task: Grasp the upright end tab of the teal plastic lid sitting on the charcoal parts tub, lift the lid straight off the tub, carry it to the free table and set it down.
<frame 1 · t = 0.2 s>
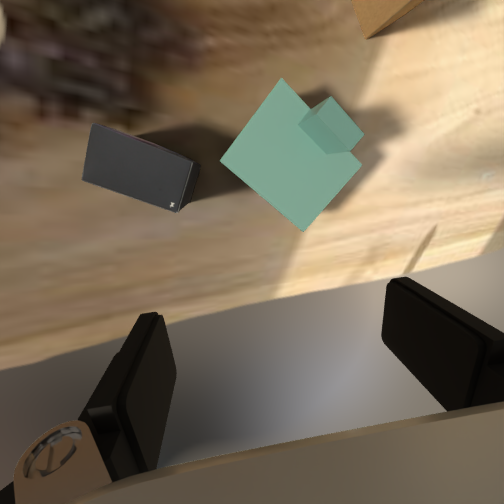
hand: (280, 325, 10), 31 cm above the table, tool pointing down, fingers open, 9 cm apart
small box: (161, 170, 36), on the table
lid: (291, 163, 31), point 7 cm above the table, touching tub
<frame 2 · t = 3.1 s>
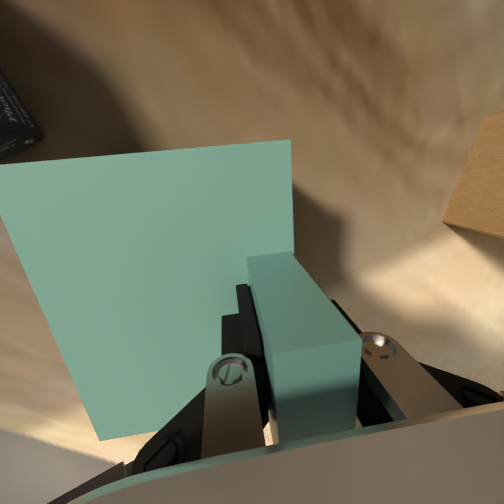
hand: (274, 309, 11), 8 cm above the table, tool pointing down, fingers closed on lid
lid: (181, 306, 12), point 7 cm above the table, touching gripper, tub
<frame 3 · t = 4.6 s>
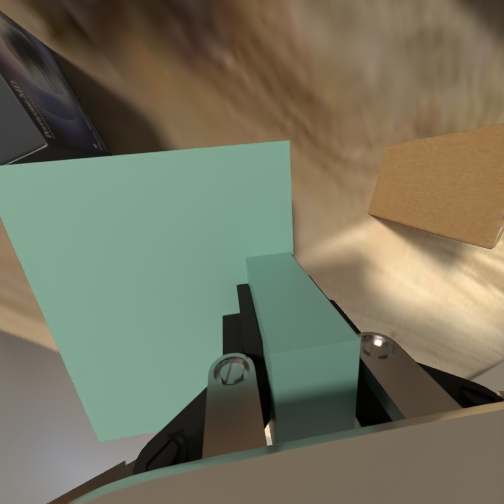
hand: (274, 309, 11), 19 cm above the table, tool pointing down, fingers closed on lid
small box: (57, 118, 24), on the table
lid: (181, 307, 12), point 17 cm above the table, touching gripper
sandwich container: (428, 190, 31), on the table
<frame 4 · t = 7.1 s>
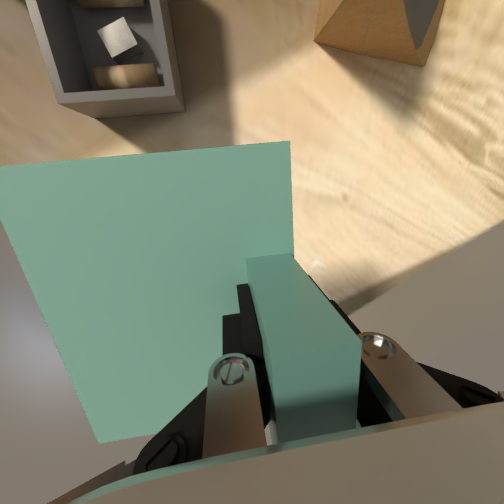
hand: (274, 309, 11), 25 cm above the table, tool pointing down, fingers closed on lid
lid: (181, 308, 12), point 23 cm above the table, touching gripper
dowel a: (115, 6, 25), point 1 cm above the table, tilted 40°, touching tub
tub: (126, 46, 27), on the table
sandwich container: (379, 16, 29), on the table
dowel b: (132, 81, 28), point 1 cm above the table, tilted 5°, touching tub
metal block: (125, 46, 26), point 1 cm above the table, touching tub
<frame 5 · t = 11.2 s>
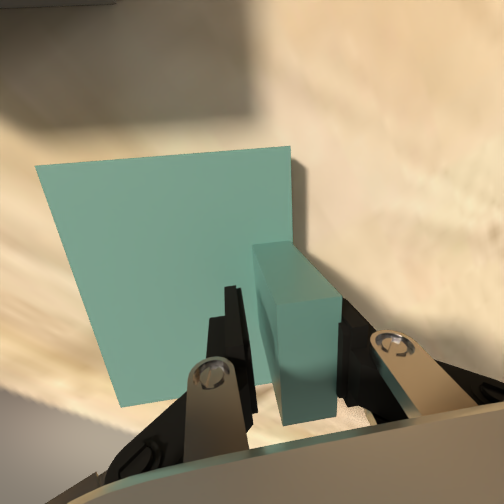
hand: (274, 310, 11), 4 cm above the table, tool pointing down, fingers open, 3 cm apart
lid: (195, 288, 14), point 1 cm above the table, touching gripper
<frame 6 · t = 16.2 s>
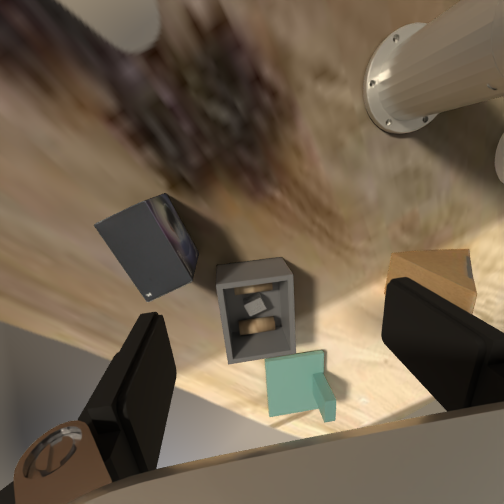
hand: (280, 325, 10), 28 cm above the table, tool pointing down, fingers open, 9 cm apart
small box: (166, 232, 37), on the table
lid: (294, 383, 48), point 1 cm above the table
dowel a: (252, 283, 40), point 1 cm above the table, tilted 14°, touching tub
tub: (253, 297, 42), on the table
sandwich container: (425, 271, 45), on the table
dowel b: (255, 318, 42), point 1 cm above the table, tilted 45°, touching tub
metal block: (253, 300, 41), point 1 cm above the table, touching tub
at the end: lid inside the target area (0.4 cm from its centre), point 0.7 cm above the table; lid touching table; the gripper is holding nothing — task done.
